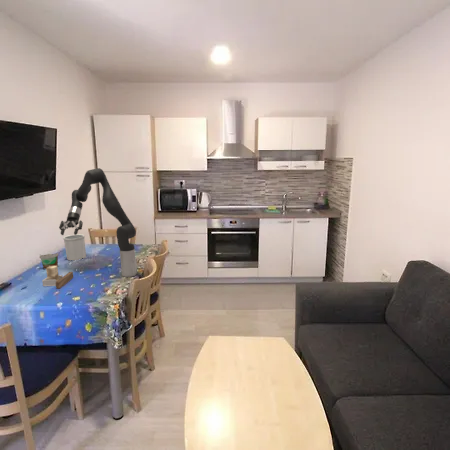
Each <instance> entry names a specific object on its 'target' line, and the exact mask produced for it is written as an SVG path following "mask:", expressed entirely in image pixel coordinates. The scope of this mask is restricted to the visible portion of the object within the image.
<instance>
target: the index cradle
mask: <svg viewBox="0 0 450 450" xmlns="http://www.w3.org/2000/svg"><path fill="white" fill-rule="evenodd" d="M58 275H59V279H61V278H62V277H63V275H62V274H58ZM41 282H42V286H43V287H52V286H53V287H56V282H57V281H56V280H48V279H47V277H45V278H44V279H42V280H41Z"/></svg>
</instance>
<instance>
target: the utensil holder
mask: <svg viewBox="0 0 450 450" xmlns="http://www.w3.org/2000/svg"><path fill="white" fill-rule="evenodd" d="M85 236H86V235H85V234H82V233H81V234H80V233H77V234H76V235H75V234H74V233H73V234H68V235H65V236H63V238H62V239H63V243H64V248H65V255H66V259H67V260H68V261H71V260H73V261H79V259H80V260H83V259H86V257H87V252H86V242H85V241H86V239H85ZM82 258H83V259H82Z"/></svg>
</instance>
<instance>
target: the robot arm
mask: <svg viewBox="0 0 450 450" xmlns="http://www.w3.org/2000/svg"><path fill="white" fill-rule="evenodd" d="M94 184H101V187H102V190H103V191H102V199H101V202H102V204H103V207H104V208H105V210H106V211H107V212H108V214H110V215H111V216H112V217H114V218H115V219H116V220H117V221H118V222H119V223H120V226H118V227H117V228H116V239H117V244H118V245H117V246H118V248H119V259H120V265H121V267H120V269H121V276H122V277H125V278H129V277H130V278H131V277H136V275H137V274H138V265H137V264H138V262H137V259H136V251H135V250H136V249H135V244H134V243H130V241H129V240H130V239H133V238H135V236H137V235H136V234H137V231H136V228H135V226H134V225H133V222H131V220H130V218H129V217H128V215H127V214H126V212H125V211H124V208H123V207H122V205H121V203H120V201H119V199H118V197H117V196H116V194H115V193H114V191H113V189H112V187H111V184H110V182H109V180H108V177H107V176H106V174H105V172H104V170H103V169H101V168H93V169H89V170H86V172H85V174H84V176H83V179H82V183H81V185H80V186H79V187H78V189H74V190H73V191H72V192H71V205H70V209H69V210H68V214H67V217H66V220H65V221H63V220H61V221H60V224H59V227H58V228H59V230H60V235H61V236H64V234H65V231H66V230H67V229H70V228H72V229H74V232H73V235H74V234H75V235H76V234H79V233H78V232H79V230H80V231H81V230H82V228H83V223H84V222H83V221H82V220H80V218H81V214H82V209H83V205H84V204H83V203H85V202H87V200H88V196H89V193H90V192H91V190H92V185H94Z"/></svg>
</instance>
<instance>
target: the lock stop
mask: <svg viewBox="0 0 450 450" xmlns="http://www.w3.org/2000/svg"><path fill="white" fill-rule="evenodd" d="M45 271H46V276H47V277H46V278H47V279H48V280H56V281H58V280H59V275H60V274H59V269H58V266H49V267H47V268H46V269H45Z"/></svg>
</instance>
